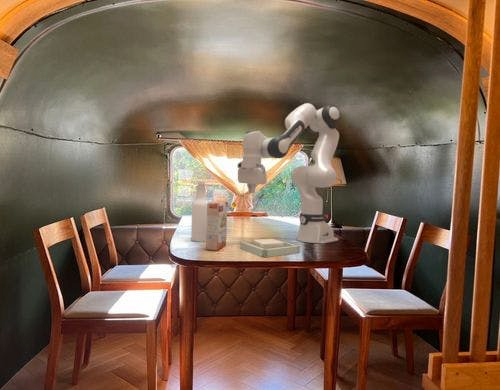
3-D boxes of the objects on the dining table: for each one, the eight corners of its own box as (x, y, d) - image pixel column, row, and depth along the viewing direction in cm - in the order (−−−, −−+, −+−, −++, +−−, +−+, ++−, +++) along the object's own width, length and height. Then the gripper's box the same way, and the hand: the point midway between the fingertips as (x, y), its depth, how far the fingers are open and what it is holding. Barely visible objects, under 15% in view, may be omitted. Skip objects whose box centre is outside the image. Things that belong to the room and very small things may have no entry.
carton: (272, 249, 157) (272, 238, 156) (283, 254, 147) (283, 242, 147) (252, 250, 152) (252, 239, 152) (262, 255, 143) (262, 244, 143)
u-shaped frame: (273, 244, 166) (273, 238, 165) (299, 252, 150) (299, 246, 149) (240, 248, 155) (240, 241, 155) (264, 257, 139) (264, 250, 139)
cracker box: (218, 251, 149) (219, 203, 147) (205, 250, 150) (206, 202, 149) (227, 244, 162) (228, 201, 161) (215, 244, 164) (215, 200, 162)
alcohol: (192, 238, 175) (193, 180, 174) (209, 239, 176) (210, 180, 174) (190, 242, 167) (191, 180, 165) (208, 242, 167) (209, 181, 165)
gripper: (270, 164, 156) (269, 194, 157) (246, 164, 173) (246, 191, 174) (258, 164, 153) (258, 194, 154) (235, 164, 170) (235, 192, 171)
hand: (251, 193), depth 164 cm, fingers closed
